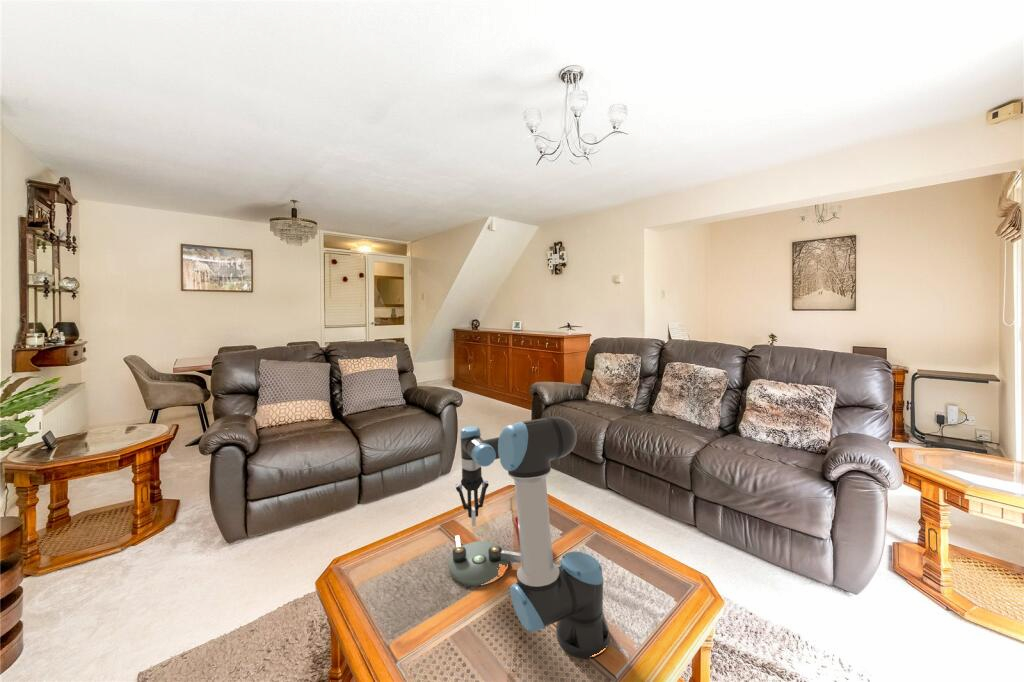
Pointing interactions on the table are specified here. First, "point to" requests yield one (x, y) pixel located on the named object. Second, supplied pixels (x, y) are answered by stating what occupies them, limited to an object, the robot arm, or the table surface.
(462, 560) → the knob left
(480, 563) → the plate
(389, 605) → the table surface
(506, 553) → the knob right
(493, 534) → the table surface
